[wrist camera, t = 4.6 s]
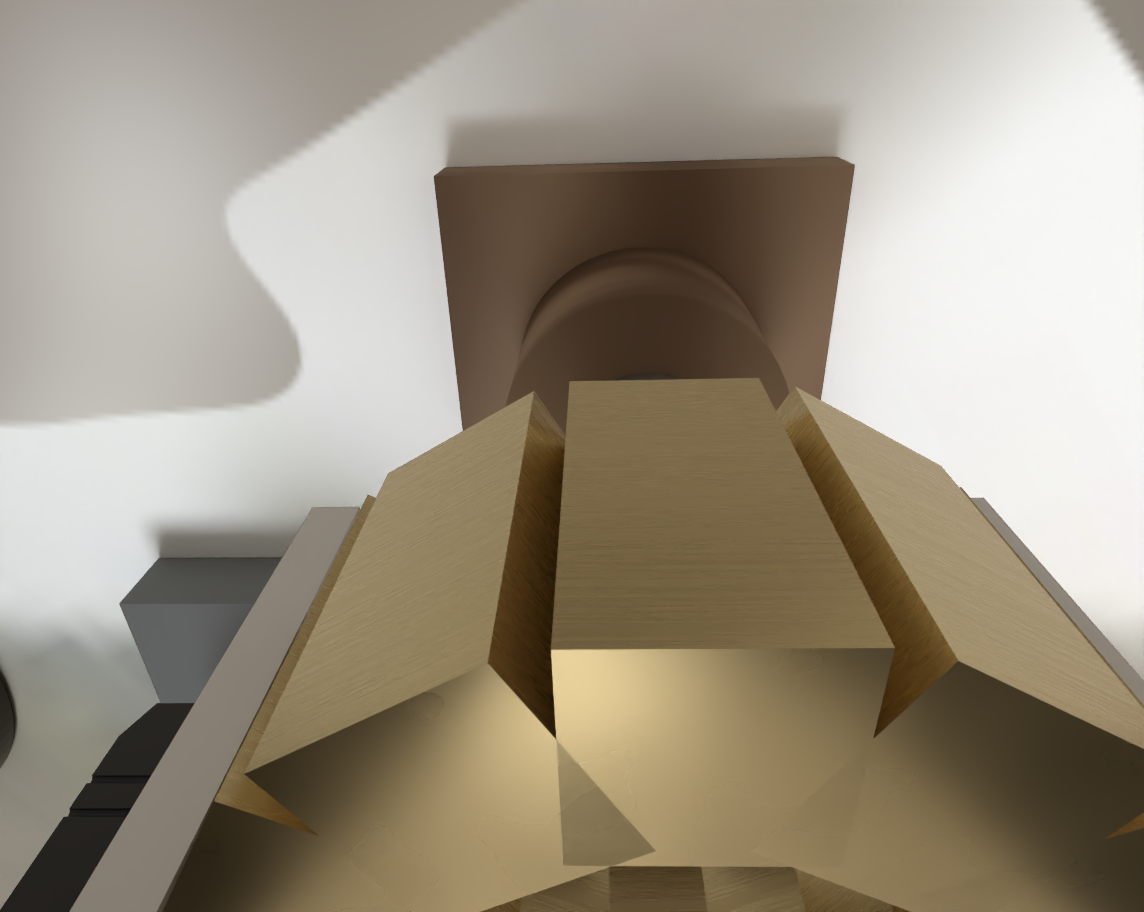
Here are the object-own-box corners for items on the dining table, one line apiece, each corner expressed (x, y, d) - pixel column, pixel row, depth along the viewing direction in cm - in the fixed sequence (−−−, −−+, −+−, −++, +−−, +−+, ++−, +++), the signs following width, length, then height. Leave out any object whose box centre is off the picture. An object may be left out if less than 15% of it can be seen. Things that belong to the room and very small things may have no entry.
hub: (237, 769, 31) (16, 1208, 19) (158, 558, 26) (-213, 986, 14) (497, 772, 31) (432, 1224, 19) (472, 557, 25) (359, 1000, 13)
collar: (377, 882, 12) (292, 1213, 9) (246, 387, 8) (-25, 651, 4) (924, 886, 12) (1061, 1232, 8) (1099, 372, 8) (1526, 644, 4)
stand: (480, 495, 24) (377, 871, 13) (445, 167, 19) (236, 327, 8) (792, 493, 24) (957, 880, 13) (837, 156, 19) (1168, 311, 8)
